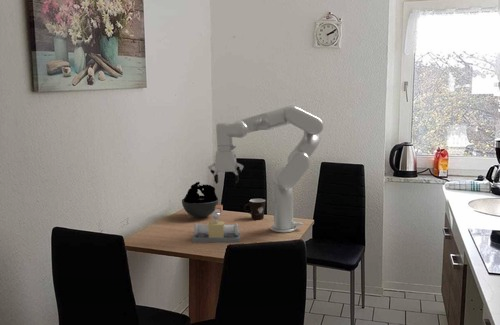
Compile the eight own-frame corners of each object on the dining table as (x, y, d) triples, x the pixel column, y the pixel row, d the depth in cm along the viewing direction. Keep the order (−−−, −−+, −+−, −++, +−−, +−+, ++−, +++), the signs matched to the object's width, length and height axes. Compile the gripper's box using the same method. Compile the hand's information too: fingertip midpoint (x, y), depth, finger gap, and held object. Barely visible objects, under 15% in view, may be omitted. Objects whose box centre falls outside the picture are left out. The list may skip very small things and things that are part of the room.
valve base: (240, 235, 259) (240, 215, 257) (239, 241, 249) (239, 220, 247) (195, 235, 259) (194, 215, 258) (192, 242, 249) (191, 220, 248)
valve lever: (222, 209, 268) (222, 204, 268) (219, 218, 251) (219, 213, 250) (216, 209, 268) (216, 204, 268) (212, 218, 251) (212, 213, 251)
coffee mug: (265, 216, 295) (264, 198, 294) (266, 220, 287) (265, 202, 285) (243, 216, 295) (243, 199, 293) (244, 220, 286) (244, 202, 285)
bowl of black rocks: (213, 222, 283) (212, 187, 281) (177, 221, 287) (176, 186, 285) (222, 213, 303) (221, 181, 300) (188, 212, 307) (187, 180, 304)
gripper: (243, 147, 261) (245, 181, 264) (209, 147, 264) (211, 181, 267) (241, 149, 254) (242, 184, 257) (205, 149, 257) (207, 184, 260)
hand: (226, 183), depth 262 cm, fingers open, 9 cm apart
